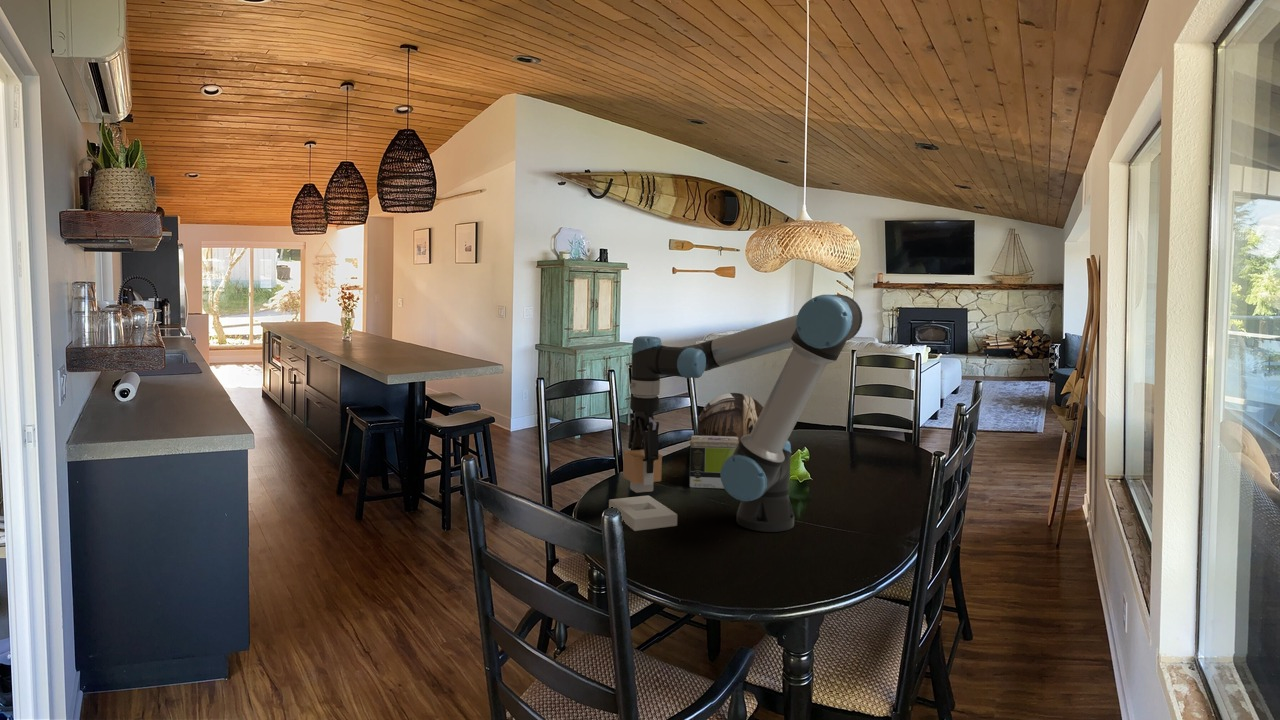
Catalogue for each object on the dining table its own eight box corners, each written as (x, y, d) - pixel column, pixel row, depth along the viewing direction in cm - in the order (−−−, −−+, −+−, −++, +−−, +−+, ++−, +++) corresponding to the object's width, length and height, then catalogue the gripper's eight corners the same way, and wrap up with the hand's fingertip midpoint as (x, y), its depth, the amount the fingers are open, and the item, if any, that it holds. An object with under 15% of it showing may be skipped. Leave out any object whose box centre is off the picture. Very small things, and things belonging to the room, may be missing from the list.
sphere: (774, 475, 250) (777, 400, 247) (698, 473, 251) (700, 398, 248) (763, 457, 275) (766, 388, 272) (694, 455, 275) (696, 386, 273)
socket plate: (677, 525, 199) (677, 514, 199) (634, 530, 194) (634, 519, 194) (648, 505, 215) (648, 495, 215) (608, 510, 210) (609, 499, 210)
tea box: (737, 481, 243) (739, 435, 241) (738, 490, 233) (740, 442, 231) (689, 479, 244) (691, 433, 242) (688, 488, 234) (690, 440, 232)
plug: (660, 492, 202) (662, 455, 201) (632, 494, 199) (634, 457, 198) (649, 485, 209) (651, 449, 208) (622, 487, 206) (623, 451, 204)
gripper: (617, 389, 208) (614, 472, 211) (647, 402, 190) (644, 492, 193) (642, 388, 211) (639, 469, 214) (674, 401, 193) (670, 489, 196)
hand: (641, 480), depth 204 cm, fingers closed on plug, 7 cm apart
